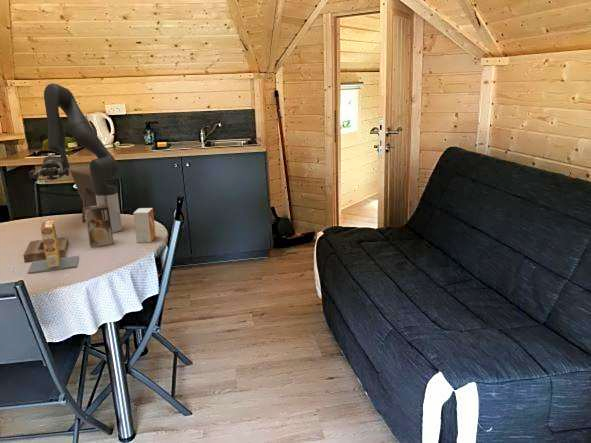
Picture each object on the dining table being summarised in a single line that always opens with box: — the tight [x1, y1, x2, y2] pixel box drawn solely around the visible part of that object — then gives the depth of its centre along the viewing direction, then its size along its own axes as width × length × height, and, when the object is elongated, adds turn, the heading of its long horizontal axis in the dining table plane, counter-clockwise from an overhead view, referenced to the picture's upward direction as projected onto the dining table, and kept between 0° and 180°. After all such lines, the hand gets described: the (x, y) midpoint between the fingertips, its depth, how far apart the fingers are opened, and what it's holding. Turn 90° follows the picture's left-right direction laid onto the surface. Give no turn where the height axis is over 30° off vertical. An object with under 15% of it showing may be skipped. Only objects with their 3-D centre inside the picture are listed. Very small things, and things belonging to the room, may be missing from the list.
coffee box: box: [84, 204, 115, 248], centre depth 198 cm, size 9×6×16 cm
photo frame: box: [69, 165, 97, 223], centre depth 239 cm, size 15×22×25 cm
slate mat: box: [27, 255, 80, 275], centre depth 177 cm, size 16×12×1 cm
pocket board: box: [23, 236, 70, 263], centre depth 191 cm, size 14×18×3 cm
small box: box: [132, 207, 157, 243], centre depth 203 cm, size 8×6×13 cm
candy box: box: [40, 220, 61, 268], centre depth 175 cm, size 9×4×15 cm, turn 24°
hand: (47, 175), depth 188 cm, fingers open, 8 cm apart
